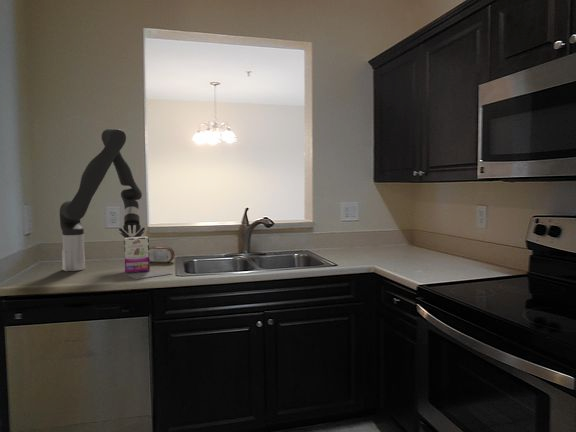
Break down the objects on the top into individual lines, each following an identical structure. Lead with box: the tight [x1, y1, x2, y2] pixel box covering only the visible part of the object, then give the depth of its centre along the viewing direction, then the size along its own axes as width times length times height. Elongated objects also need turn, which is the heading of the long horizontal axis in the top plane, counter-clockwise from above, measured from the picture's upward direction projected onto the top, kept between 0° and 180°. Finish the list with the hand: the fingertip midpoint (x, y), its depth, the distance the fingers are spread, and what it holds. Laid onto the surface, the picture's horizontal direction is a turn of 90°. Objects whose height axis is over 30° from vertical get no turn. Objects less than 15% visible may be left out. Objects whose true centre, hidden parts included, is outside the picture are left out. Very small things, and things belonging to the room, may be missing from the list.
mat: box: [127, 269, 173, 280], centre depth 191 cm, size 17×9×1 cm, turn 130°
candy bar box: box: [123, 236, 151, 274], centre depth 199 cm, size 11×5×16 cm, turn 114°
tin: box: [149, 245, 175, 264], centre depth 222 cm, size 15×3×8 cm, turn 84°
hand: (132, 244), depth 206 cm, fingers closed
